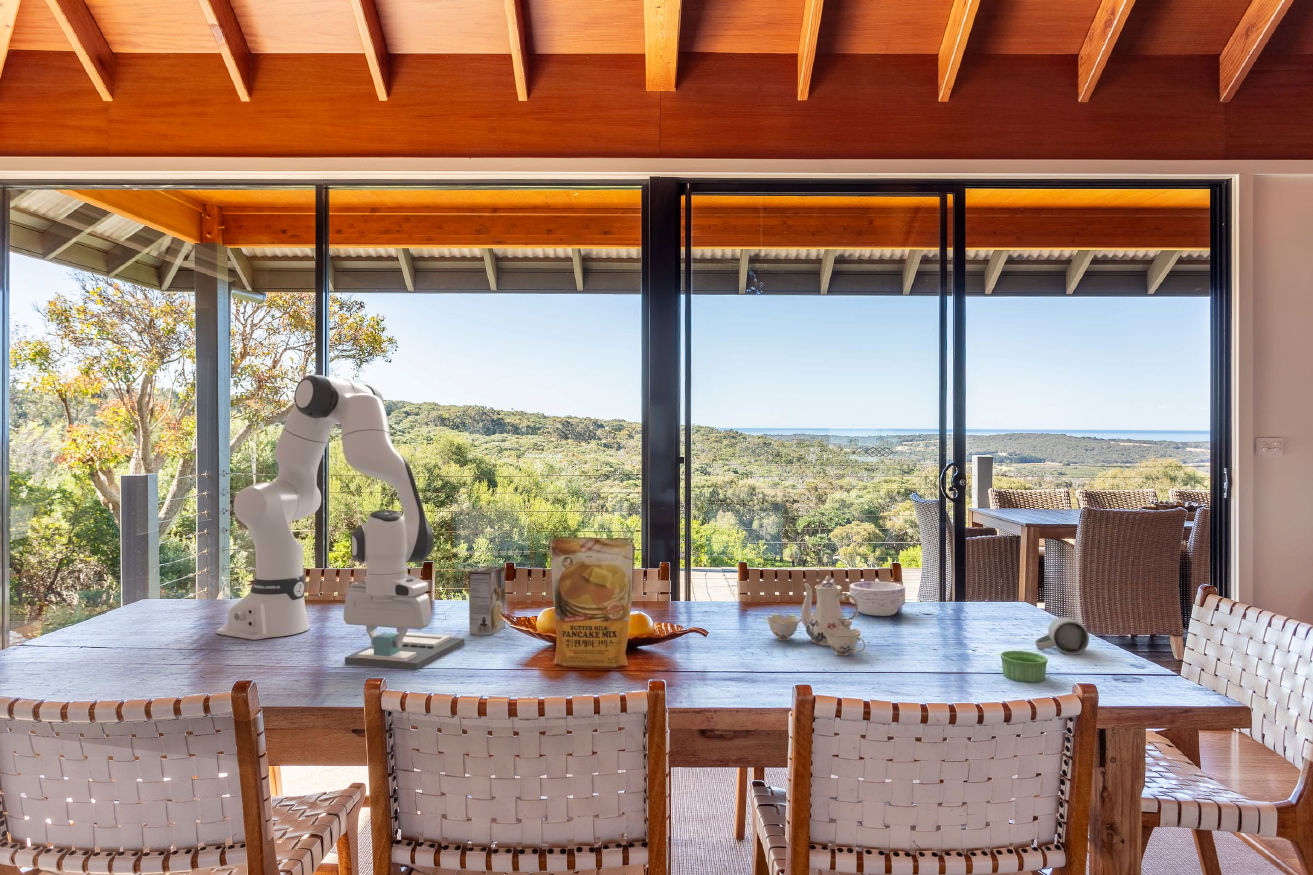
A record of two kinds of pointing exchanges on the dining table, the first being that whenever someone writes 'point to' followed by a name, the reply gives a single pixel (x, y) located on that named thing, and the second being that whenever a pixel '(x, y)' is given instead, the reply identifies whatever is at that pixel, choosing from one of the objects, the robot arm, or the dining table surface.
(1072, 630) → the ceramic mug
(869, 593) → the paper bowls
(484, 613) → the coffee box
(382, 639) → the stub
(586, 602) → the pancake mix bag
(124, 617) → the dining table surface
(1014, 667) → the ramekin
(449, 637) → the board
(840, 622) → the chinaware
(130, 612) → the dining table surface
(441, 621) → the dining table surface
